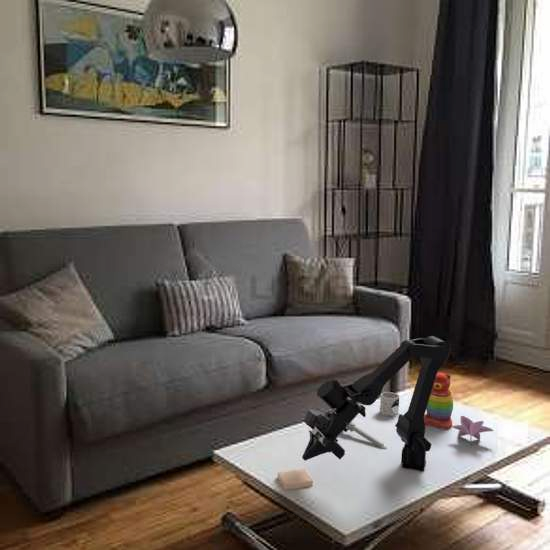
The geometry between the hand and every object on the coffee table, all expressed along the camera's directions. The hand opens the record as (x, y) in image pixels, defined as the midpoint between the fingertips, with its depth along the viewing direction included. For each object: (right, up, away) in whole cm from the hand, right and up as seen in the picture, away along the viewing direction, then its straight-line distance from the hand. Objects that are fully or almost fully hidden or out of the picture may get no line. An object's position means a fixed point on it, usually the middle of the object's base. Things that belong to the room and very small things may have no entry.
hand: (303, 459), depth 177 cm
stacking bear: (+49, 0, +44) cm, 66 cm away
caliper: (+20, -2, +30) cm, 36 cm away
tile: (+1, -6, +2) cm, 6 cm away
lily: (+56, -3, +28) cm, 62 cm away
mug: (+34, +2, +53) cm, 63 cm away
